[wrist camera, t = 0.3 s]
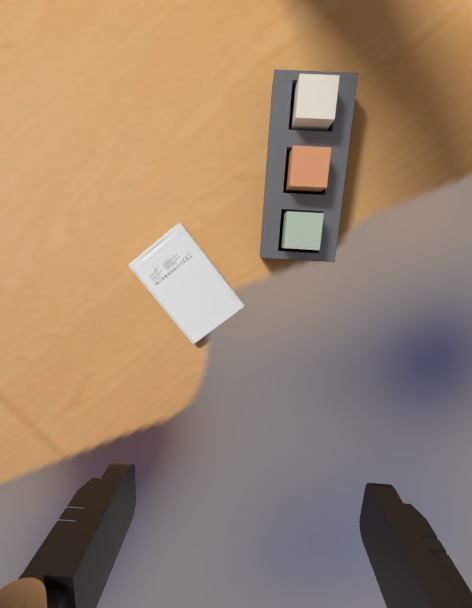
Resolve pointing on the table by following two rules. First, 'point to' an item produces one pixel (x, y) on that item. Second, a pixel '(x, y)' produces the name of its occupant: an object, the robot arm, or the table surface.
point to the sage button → (302, 230)
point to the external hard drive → (186, 283)
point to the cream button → (314, 102)
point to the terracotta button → (308, 169)
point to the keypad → (276, 159)
